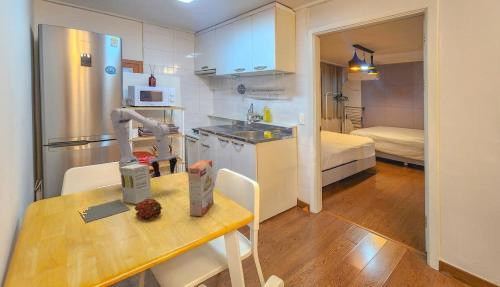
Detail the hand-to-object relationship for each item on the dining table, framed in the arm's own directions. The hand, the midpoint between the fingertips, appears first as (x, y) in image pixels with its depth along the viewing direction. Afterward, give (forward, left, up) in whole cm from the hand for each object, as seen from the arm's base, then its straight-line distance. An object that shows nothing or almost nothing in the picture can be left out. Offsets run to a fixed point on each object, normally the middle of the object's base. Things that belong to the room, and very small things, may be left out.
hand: (165, 174), depth 129 cm
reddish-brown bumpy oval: (+20, -17, -11) cm, 28 cm away
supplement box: (-1, -14, -10) cm, 17 cm away
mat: (-1, -29, -10) cm, 31 cm away
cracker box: (+30, +3, -11) cm, 32 cm away
